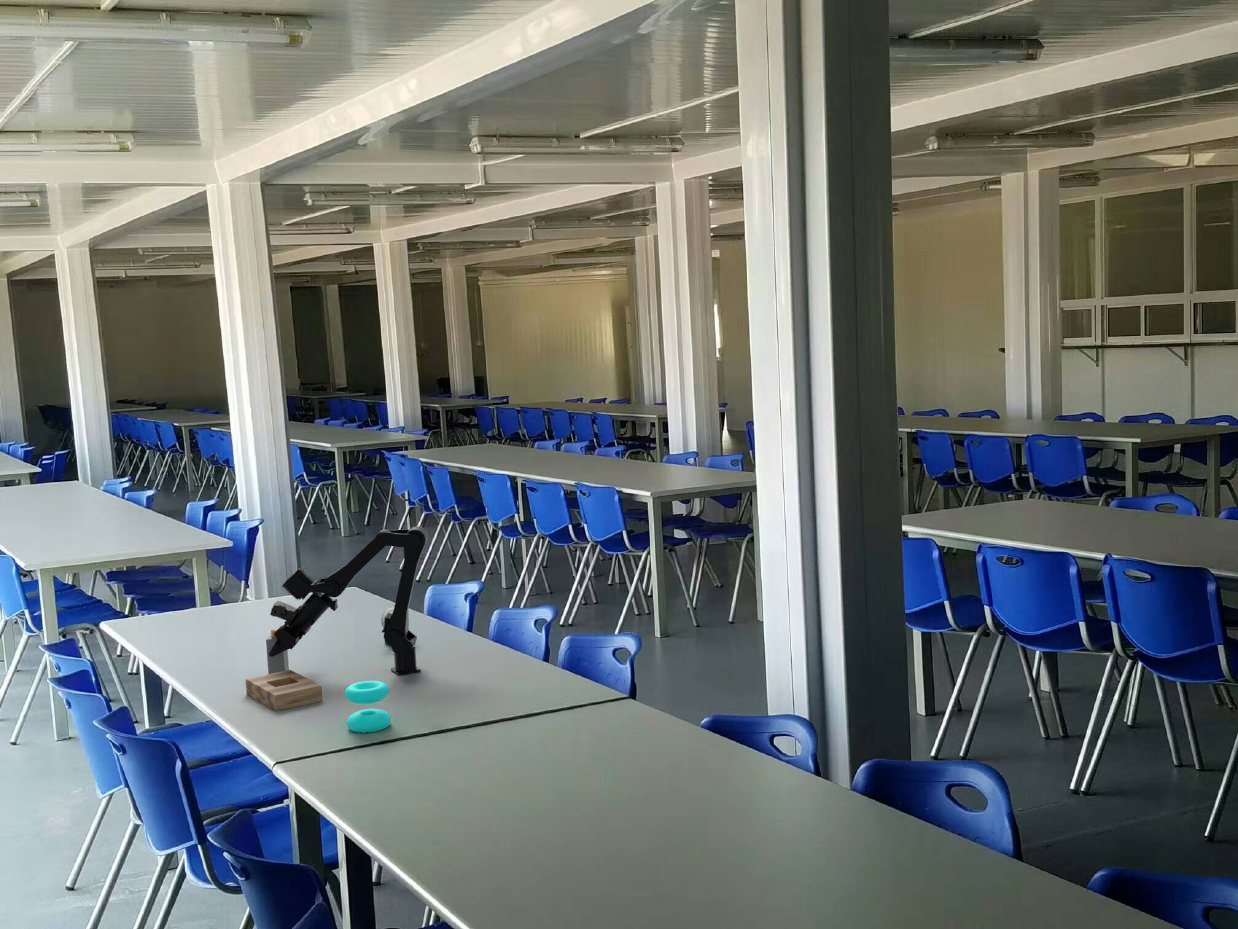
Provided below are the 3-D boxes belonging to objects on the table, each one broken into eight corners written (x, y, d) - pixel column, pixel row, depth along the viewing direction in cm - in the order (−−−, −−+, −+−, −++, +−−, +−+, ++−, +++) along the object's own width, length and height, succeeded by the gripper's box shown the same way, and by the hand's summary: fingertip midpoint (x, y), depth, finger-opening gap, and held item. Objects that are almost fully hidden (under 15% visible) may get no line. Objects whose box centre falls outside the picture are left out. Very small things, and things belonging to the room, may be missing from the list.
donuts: (386, 677, 288) (390, 688, 279) (389, 718, 289) (393, 731, 280) (343, 682, 286) (345, 693, 276) (346, 723, 287) (348, 736, 277)
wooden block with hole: (322, 700, 306) (321, 685, 305) (276, 711, 299) (274, 695, 298) (291, 684, 322) (290, 669, 321) (246, 694, 315) (245, 679, 314)
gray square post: (289, 674, 332) (285, 627, 330) (285, 679, 327) (282, 631, 326) (272, 675, 332) (269, 628, 330) (268, 680, 327) (265, 632, 326)
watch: (412, 643, 361) (410, 606, 360) (388, 648, 356) (386, 611, 354) (403, 640, 365) (401, 604, 364) (379, 645, 360) (377, 608, 359)
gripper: (295, 584, 336) (258, 625, 337) (279, 598, 318) (239, 642, 319) (326, 611, 337) (289, 652, 338) (312, 627, 319) (272, 670, 320)
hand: (272, 653), depth 329 cm, fingers closed on gray square post, 4 cm apart
